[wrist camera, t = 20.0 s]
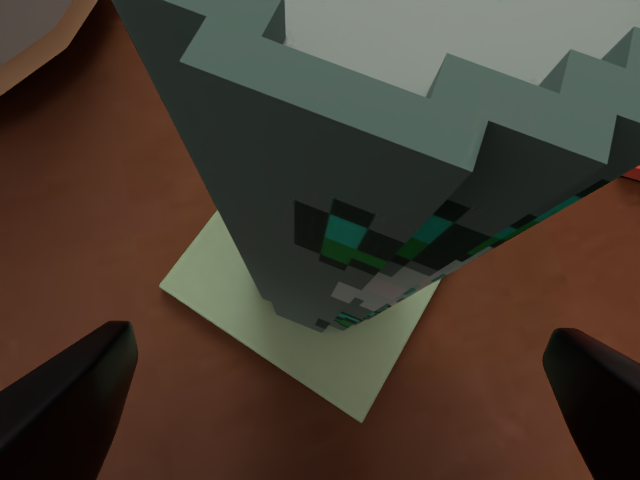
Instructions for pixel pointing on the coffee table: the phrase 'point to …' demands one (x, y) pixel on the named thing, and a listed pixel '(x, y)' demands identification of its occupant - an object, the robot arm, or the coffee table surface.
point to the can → (390, 130)
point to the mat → (293, 324)
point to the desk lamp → (36, 34)
